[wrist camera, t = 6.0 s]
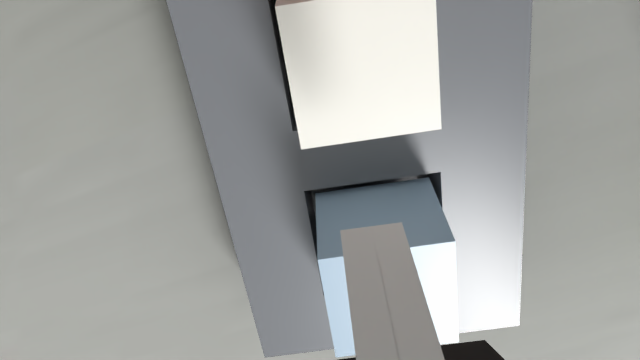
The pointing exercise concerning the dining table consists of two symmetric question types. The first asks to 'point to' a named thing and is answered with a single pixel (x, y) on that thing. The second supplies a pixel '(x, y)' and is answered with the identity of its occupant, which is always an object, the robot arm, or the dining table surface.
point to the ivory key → (360, 68)
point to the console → (362, 159)
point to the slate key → (424, 241)
